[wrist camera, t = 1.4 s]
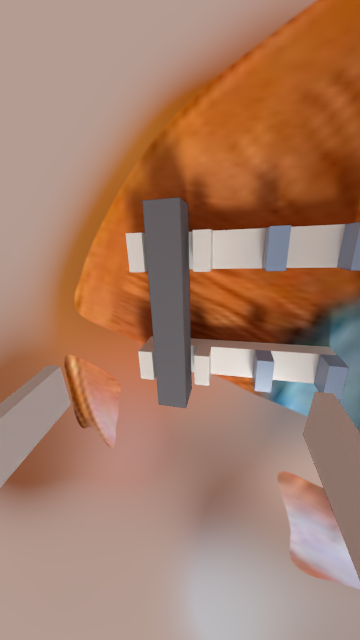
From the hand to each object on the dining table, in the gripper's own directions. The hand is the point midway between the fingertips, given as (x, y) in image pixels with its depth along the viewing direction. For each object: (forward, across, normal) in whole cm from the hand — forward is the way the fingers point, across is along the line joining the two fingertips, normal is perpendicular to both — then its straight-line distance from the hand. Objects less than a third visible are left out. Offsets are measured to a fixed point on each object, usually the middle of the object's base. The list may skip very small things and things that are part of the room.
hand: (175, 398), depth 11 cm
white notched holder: (+22, -4, +2) cm, 22 cm away
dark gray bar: (+20, +4, +2) cm, 20 cm away
